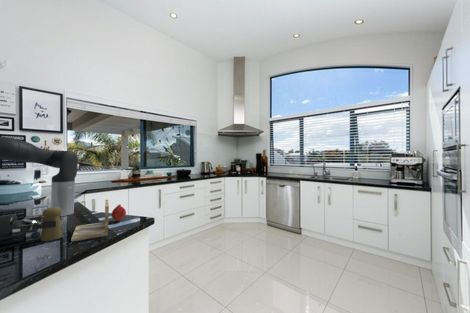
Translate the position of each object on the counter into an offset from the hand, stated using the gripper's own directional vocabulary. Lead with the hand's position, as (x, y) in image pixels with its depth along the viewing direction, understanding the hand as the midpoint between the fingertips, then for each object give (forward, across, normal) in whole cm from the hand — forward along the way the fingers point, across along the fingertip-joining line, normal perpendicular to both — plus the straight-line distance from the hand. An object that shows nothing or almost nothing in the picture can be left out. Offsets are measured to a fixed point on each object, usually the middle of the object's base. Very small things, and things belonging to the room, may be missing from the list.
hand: (58, 220), depth 75 cm
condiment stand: (+10, 0, +6) cm, 12 cm away
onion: (+20, +10, +6) cm, 23 cm away
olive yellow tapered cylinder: (-2, 0, +6) cm, 6 cm away
